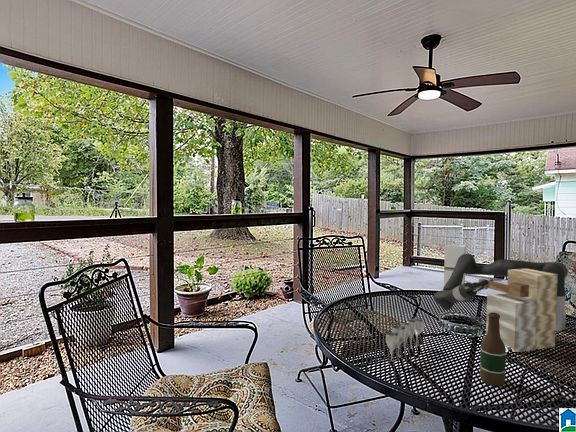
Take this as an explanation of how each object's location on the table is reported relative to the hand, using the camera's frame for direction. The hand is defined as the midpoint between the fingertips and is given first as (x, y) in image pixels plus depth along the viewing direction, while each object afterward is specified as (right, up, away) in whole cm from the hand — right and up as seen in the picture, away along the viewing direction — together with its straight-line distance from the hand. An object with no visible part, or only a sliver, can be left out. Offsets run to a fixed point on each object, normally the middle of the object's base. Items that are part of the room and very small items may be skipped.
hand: (490, 281), depth 166 cm
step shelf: (+9, -26, -8) cm, 29 cm away
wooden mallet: (+2, -3, -6) cm, 7 cm away
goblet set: (-47, -27, -21) cm, 58 cm away
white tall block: (+15, -24, +68) cm, 74 cm away
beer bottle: (-23, -28, -41) cm, 55 cm away
